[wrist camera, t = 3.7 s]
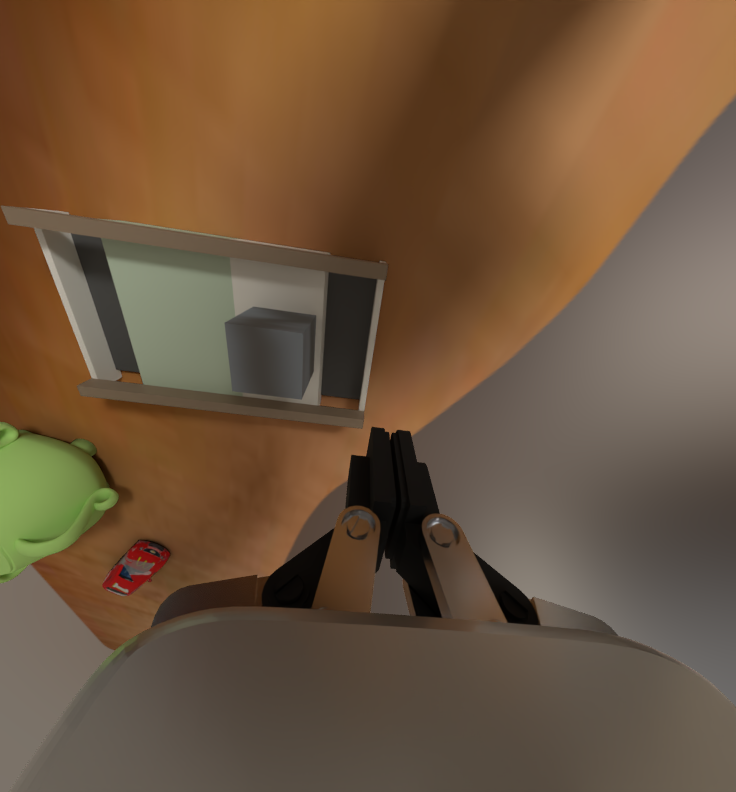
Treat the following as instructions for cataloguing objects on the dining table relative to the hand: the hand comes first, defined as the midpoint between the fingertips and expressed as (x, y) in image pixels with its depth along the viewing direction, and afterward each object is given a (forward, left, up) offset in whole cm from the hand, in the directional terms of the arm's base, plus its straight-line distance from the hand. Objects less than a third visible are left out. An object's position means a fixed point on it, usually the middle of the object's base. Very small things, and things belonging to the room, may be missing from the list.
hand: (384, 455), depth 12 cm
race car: (+31, +40, -16) cm, 53 cm away
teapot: (+36, +20, -16) cm, 45 cm away
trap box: (+13, 0, -16) cm, 20 cm away
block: (+8, 0, -13) cm, 15 cm away
